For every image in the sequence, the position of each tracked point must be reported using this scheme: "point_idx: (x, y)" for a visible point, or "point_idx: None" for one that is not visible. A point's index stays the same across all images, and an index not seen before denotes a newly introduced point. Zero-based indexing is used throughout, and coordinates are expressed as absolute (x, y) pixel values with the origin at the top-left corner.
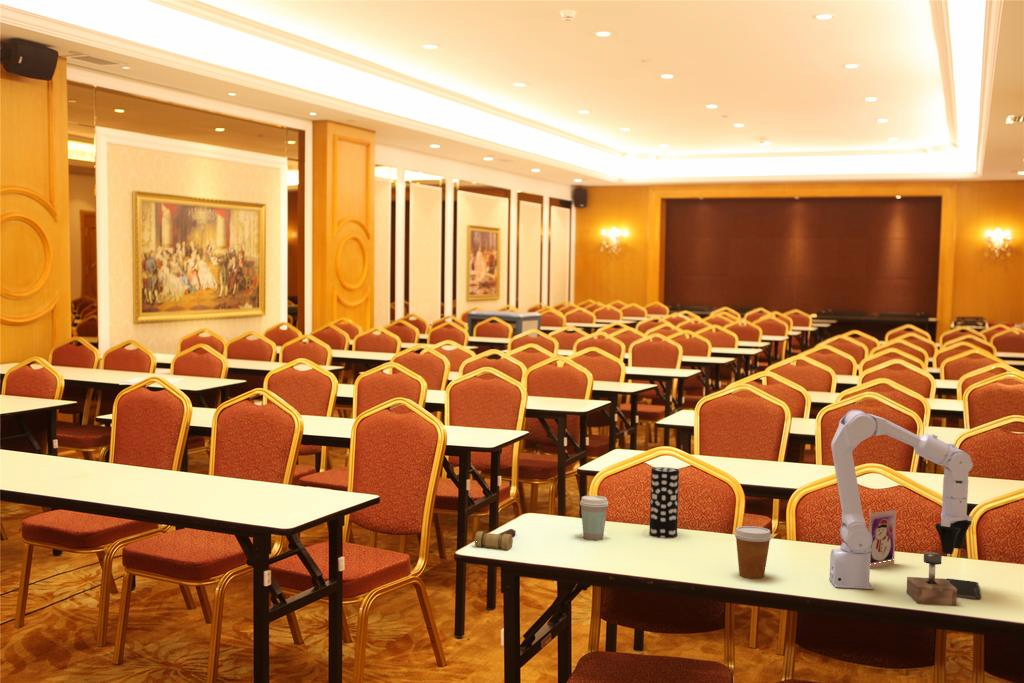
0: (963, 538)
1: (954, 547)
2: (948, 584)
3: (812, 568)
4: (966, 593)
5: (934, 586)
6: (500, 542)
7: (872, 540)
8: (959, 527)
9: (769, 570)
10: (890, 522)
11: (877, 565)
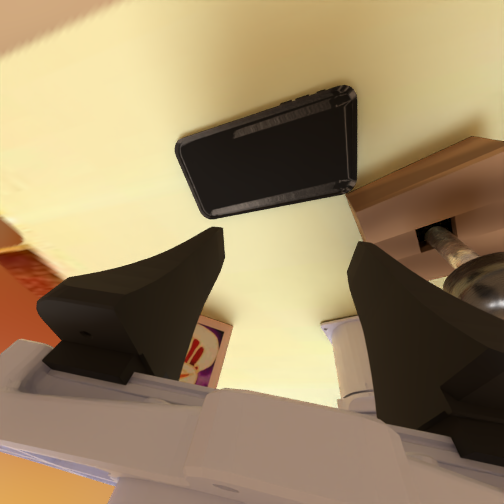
0: (199, 247)
1: (222, 251)
2: (443, 188)
3: (288, 369)
4: (320, 140)
5: (495, 220)
6: None
7: (209, 371)
8: (174, 314)
9: (334, 396)
10: None
11: (208, 320)
